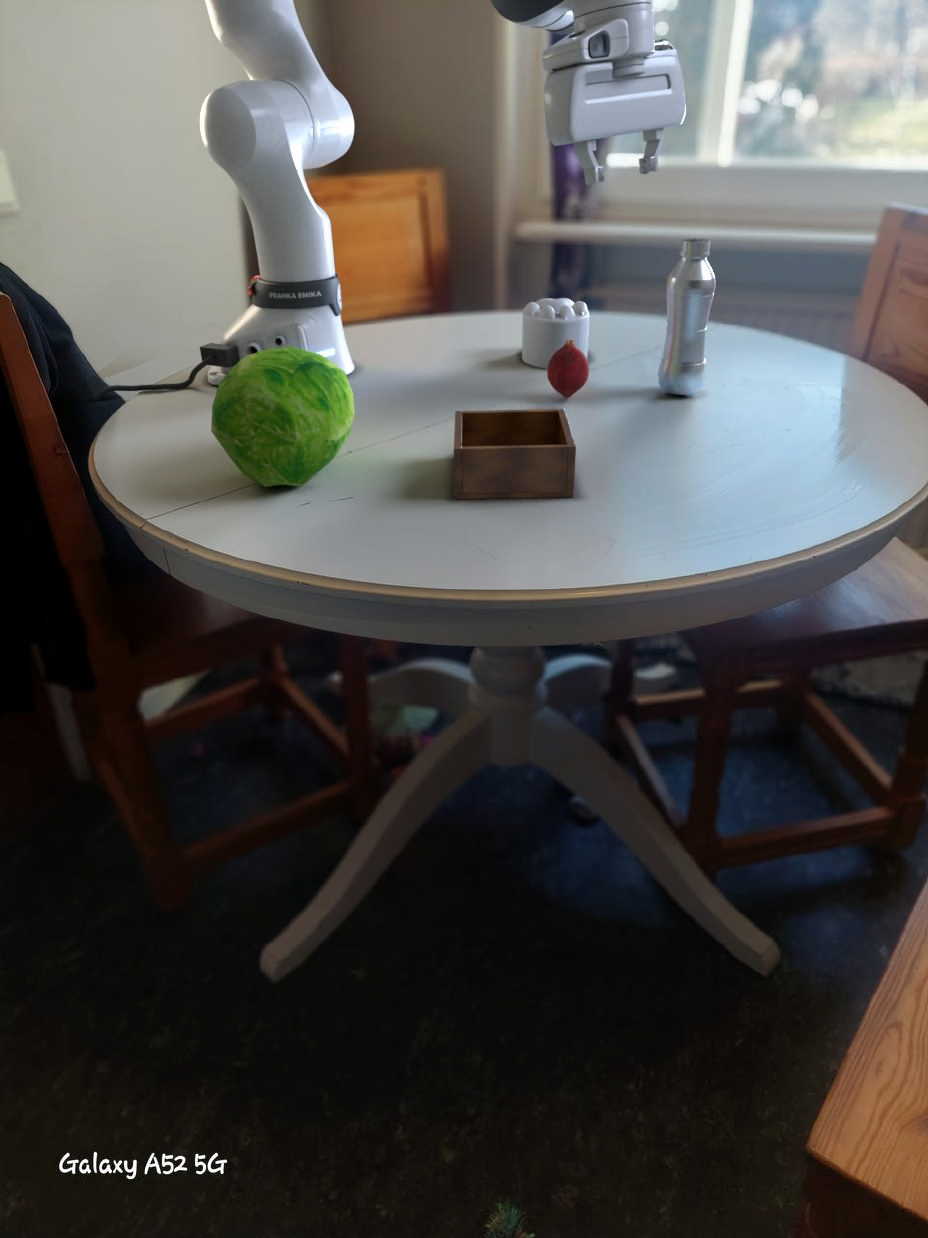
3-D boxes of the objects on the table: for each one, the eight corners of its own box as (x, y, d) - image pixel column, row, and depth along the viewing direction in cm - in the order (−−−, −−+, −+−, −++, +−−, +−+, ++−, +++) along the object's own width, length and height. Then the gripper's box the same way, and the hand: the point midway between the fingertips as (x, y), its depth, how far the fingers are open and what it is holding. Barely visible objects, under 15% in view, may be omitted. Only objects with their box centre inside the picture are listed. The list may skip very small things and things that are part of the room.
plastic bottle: (677, 402, 119) (693, 245, 109) (646, 390, 124) (659, 239, 114) (713, 395, 122) (733, 240, 111) (682, 383, 127) (698, 235, 117)
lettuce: (256, 452, 113) (370, 471, 112) (181, 480, 92) (321, 504, 90) (263, 334, 108) (383, 353, 107) (186, 335, 87) (334, 359, 86)
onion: (586, 404, 120) (589, 345, 115) (544, 402, 121) (545, 343, 116) (589, 392, 124) (592, 334, 120) (549, 390, 125) (550, 333, 121)
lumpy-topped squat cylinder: (582, 347, 146) (585, 293, 141) (591, 368, 135) (594, 310, 130) (520, 348, 146) (521, 294, 142) (524, 369, 135) (525, 311, 131)
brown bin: (455, 499, 93) (453, 449, 90) (456, 457, 103) (455, 410, 100) (573, 497, 92) (576, 446, 89) (562, 455, 103) (564, 408, 100)
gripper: (655, 42, 106) (660, 169, 112) (530, 54, 96) (543, 192, 102) (696, 31, 101) (699, 164, 108) (570, 43, 91) (581, 188, 98)
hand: (622, 178), depth 105 cm, fingers open, 8 cm apart
